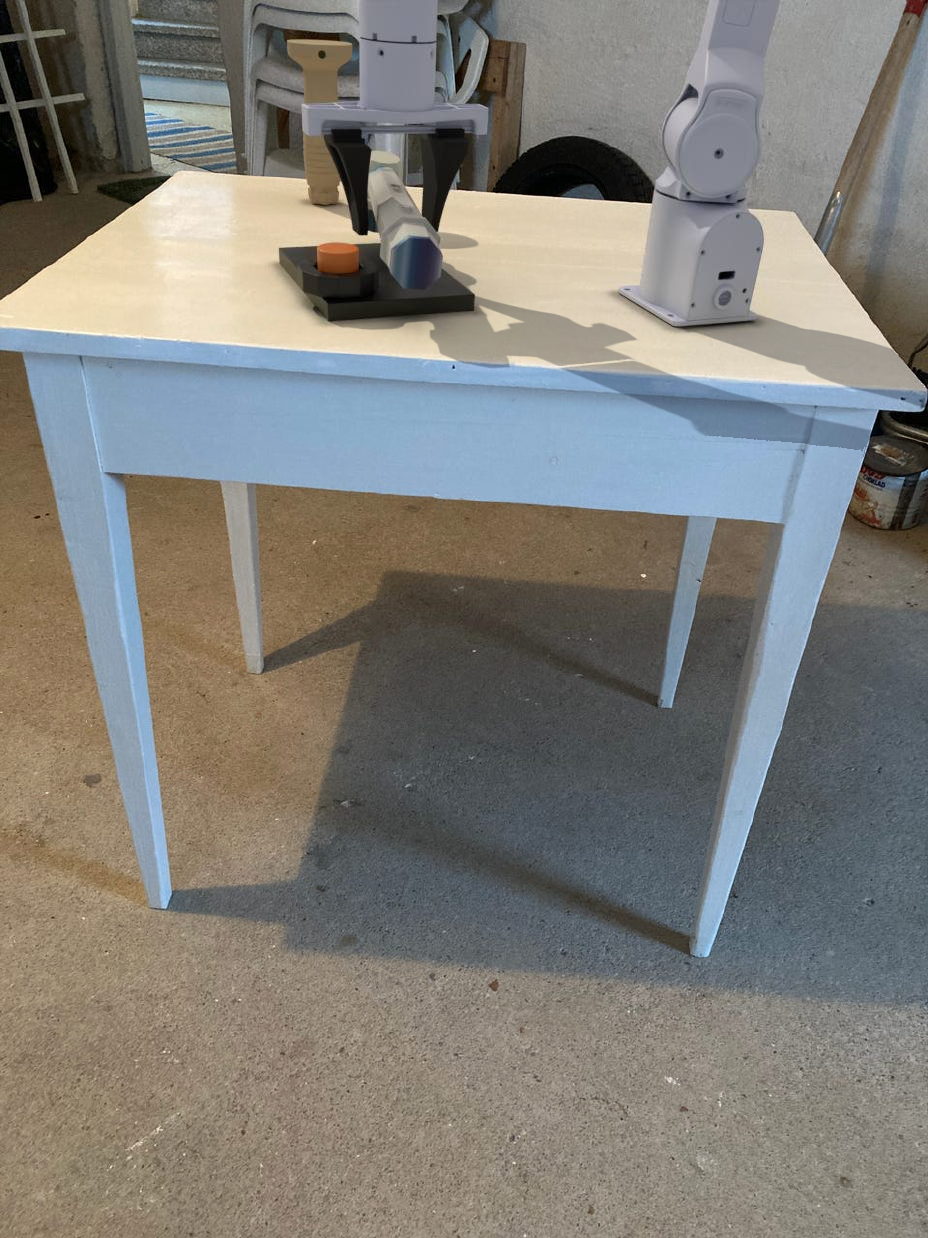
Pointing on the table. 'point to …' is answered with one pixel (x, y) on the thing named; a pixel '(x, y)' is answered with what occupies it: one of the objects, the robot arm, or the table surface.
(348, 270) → the button
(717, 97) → the robot arm
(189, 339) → the table surface
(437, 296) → the scale
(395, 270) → the blue-tipped octagonal rod
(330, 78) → the handle
